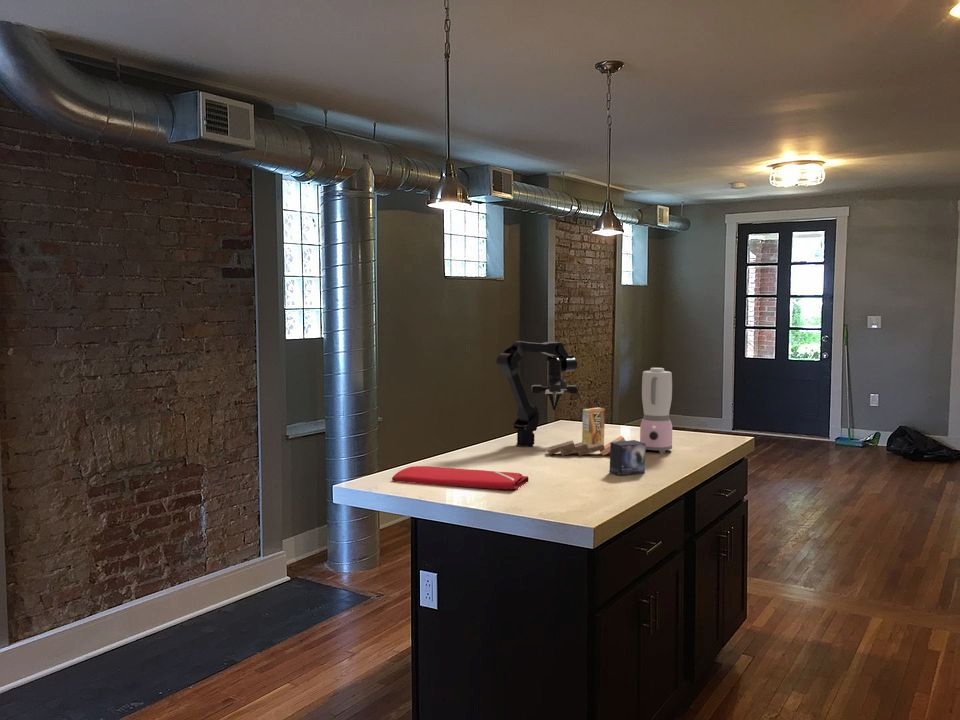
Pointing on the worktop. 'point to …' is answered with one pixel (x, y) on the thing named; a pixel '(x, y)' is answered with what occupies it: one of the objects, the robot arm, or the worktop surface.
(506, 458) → the worktop surface
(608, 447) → the domino
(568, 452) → the domino
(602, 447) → the domino
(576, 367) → the robot arm
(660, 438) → the blender
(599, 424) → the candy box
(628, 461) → the small box
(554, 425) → the worktop surface
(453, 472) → the dish drying mat
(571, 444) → the domino
